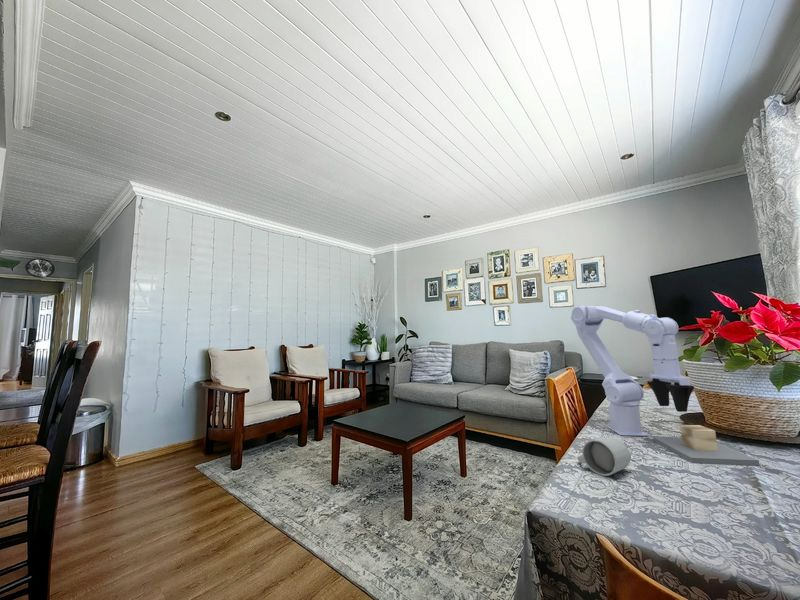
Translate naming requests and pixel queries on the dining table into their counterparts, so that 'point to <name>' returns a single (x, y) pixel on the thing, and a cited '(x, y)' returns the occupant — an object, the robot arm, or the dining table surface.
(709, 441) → the maple block
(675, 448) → the slate board
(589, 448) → the ceramic mug
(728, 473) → the dining table surface
